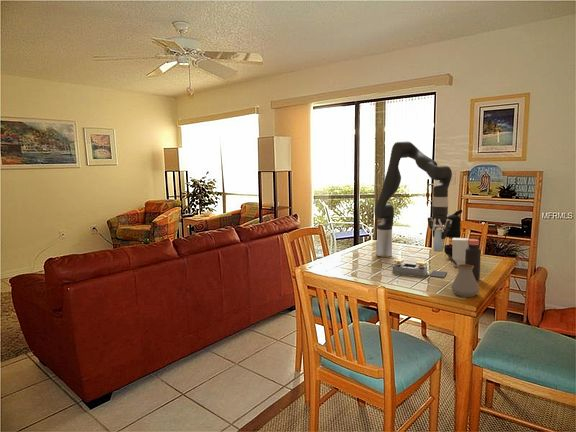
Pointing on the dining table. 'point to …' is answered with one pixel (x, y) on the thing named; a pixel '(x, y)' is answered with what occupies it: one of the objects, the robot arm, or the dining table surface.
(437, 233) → the cartridge
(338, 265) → the dining table surface
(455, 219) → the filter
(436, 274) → the mat
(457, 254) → the skincare box
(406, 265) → the housing
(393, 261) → the plunger
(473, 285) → the coffee pot
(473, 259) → the bottle
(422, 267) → the plunger
